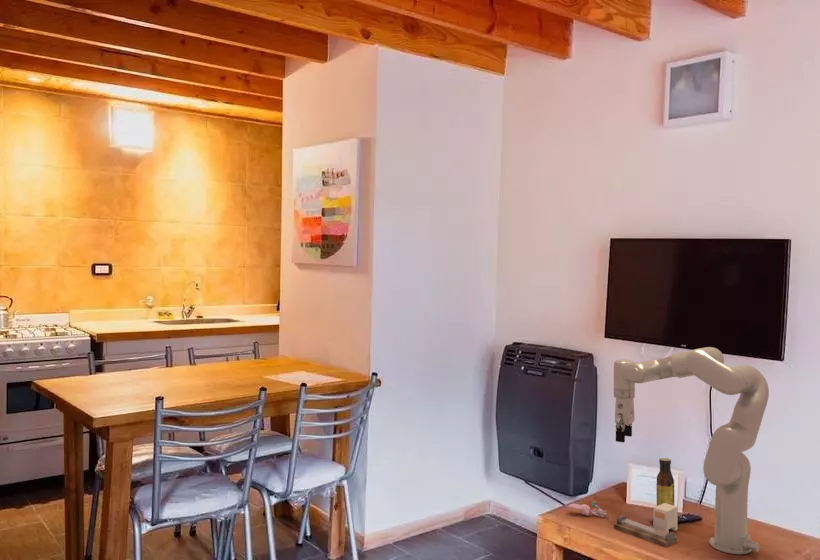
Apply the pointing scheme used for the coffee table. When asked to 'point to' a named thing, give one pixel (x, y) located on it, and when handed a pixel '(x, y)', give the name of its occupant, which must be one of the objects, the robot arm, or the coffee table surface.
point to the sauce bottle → (665, 483)
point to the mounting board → (644, 535)
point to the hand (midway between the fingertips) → (623, 438)
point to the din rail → (645, 528)
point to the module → (665, 517)
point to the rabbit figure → (586, 510)
